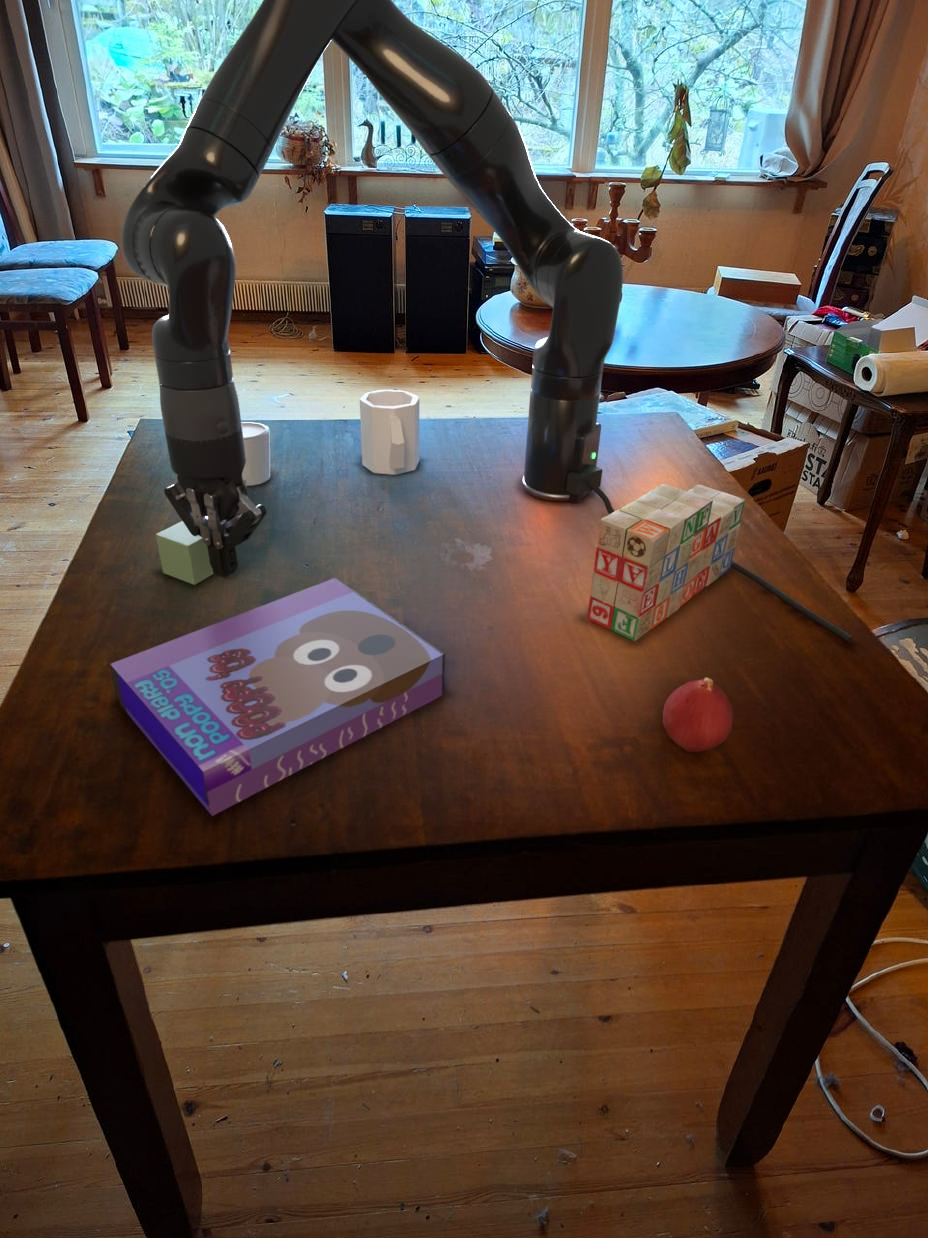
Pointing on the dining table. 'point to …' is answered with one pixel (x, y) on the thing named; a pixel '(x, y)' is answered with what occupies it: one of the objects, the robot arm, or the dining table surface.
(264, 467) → the white cup
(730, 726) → the onion
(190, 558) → the sage block
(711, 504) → the stack of blocks
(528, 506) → the dining table surface
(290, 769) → the cereal box
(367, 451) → the mug
